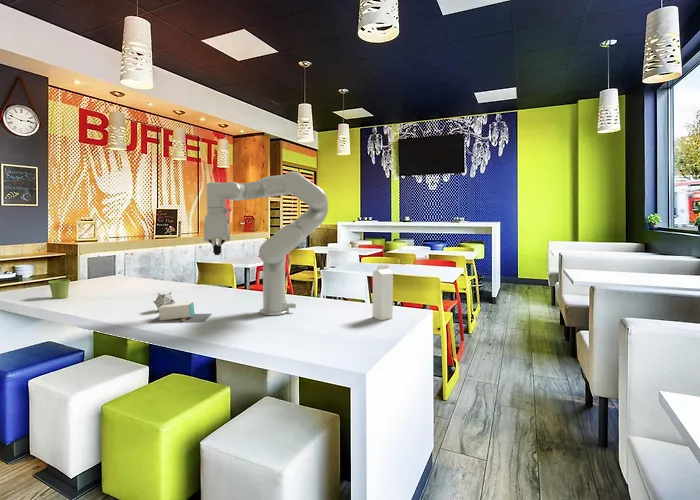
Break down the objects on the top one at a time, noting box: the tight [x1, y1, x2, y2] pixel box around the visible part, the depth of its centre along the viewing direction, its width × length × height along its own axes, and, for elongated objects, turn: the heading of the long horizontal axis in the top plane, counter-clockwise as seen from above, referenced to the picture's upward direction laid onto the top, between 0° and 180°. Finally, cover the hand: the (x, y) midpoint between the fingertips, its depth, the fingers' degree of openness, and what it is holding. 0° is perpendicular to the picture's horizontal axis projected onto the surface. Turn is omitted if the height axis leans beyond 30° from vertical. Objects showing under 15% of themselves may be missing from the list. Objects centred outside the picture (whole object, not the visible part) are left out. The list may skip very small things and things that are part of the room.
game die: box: [152, 292, 176, 313], centre depth 174 cm, size 9×8×10 cm
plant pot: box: [47, 279, 71, 300], centre depth 201 cm, size 9×9×9 cm
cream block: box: [157, 301, 196, 320], centre depth 160 cm, size 5×5×12 cm
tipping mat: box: [147, 313, 213, 325], centre depth 160 cm, size 21×14×1 cm, turn 97°
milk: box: [372, 264, 394, 321], centre depth 163 cm, size 6×6×22 cm
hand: (217, 254), depth 170 cm, fingers closed
